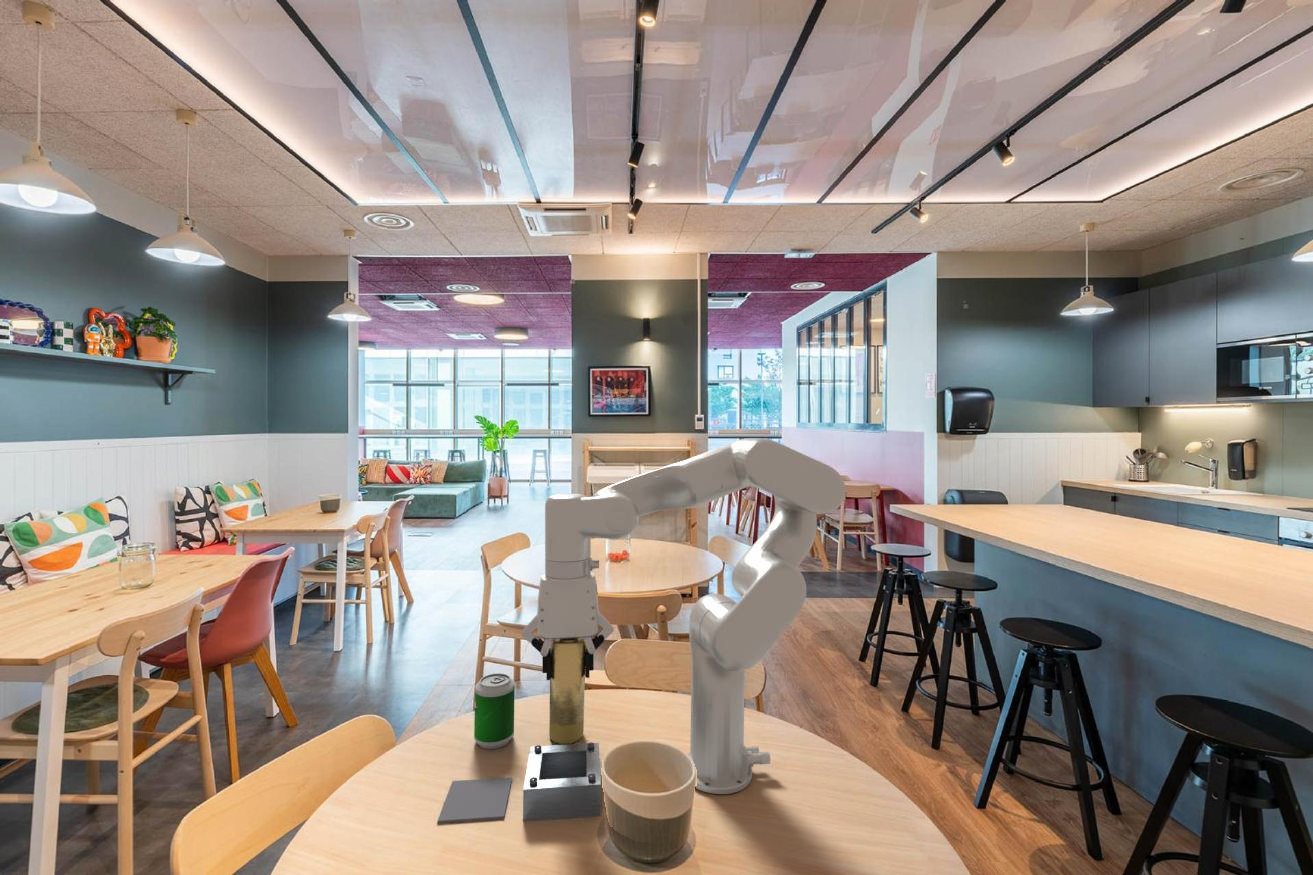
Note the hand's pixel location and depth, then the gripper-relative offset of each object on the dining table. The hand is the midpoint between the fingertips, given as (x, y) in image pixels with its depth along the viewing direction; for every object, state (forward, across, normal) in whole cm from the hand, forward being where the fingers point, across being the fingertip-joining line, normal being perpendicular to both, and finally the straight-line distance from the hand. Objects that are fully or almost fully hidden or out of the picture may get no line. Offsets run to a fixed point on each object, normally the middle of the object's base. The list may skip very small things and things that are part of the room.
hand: (568, 674), depth 93 cm
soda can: (+20, +15, -18) cm, 31 cm away
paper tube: (+20, +1, -18) cm, 27 cm away
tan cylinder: (+7, 0, 0) cm, 7 cm away
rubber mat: (+20, +15, 0) cm, 25 cm away
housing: (+20, +1, 0) cm, 20 cm away
